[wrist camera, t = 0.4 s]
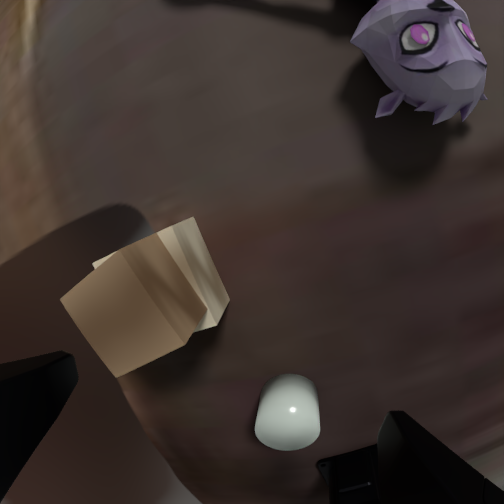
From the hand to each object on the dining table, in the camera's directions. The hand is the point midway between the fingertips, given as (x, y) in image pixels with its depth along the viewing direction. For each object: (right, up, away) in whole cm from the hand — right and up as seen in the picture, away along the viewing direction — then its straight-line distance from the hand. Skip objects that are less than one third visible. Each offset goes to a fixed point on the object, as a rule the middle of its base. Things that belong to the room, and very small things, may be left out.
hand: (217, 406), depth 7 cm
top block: (-5, +2, +10) cm, 11 cm away
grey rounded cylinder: (+4, -7, +15) cm, 17 cm away
